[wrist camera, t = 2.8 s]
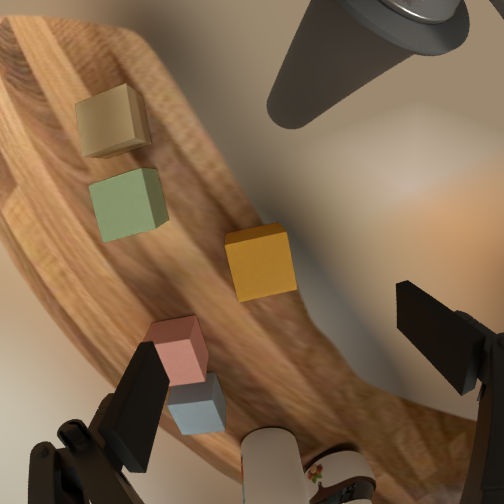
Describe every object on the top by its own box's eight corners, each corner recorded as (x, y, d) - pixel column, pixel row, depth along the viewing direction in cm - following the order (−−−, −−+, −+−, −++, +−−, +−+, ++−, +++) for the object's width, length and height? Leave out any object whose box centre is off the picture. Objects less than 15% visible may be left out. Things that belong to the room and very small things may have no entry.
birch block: (143, 96, 25) (126, 82, 20) (152, 144, 26) (135, 137, 21) (98, 113, 25) (74, 104, 20) (105, 159, 26) (82, 157, 21)
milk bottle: (242, 425, 35) (248, 561, 15) (300, 425, 35) (332, 552, 16) (239, 457, 37) (243, 575, 17) (291, 457, 37) (313, 569, 18)
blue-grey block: (215, 371, 32) (212, 400, 28) (226, 402, 34) (225, 430, 29) (174, 377, 32) (166, 405, 28) (187, 407, 34) (182, 435, 29)
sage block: (157, 168, 27) (141, 167, 22) (169, 219, 28) (156, 228, 23) (111, 183, 27) (88, 185, 22) (123, 231, 28) (102, 242, 23)
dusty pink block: (196, 314, 31) (189, 338, 26) (209, 354, 32) (205, 381, 27) (152, 322, 31) (139, 346, 26) (167, 360, 32) (157, 387, 27)
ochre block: (278, 221, 29) (286, 231, 24) (287, 271, 30) (297, 289, 25) (226, 233, 29) (224, 244, 24) (238, 282, 30) (238, 302, 25)
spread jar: (343, 437, 37) (365, 497, 25) (380, 455, 39) (402, 504, 28) (284, 475, 38) (293, 532, 27) (326, 489, 41) (339, 538, 29)
